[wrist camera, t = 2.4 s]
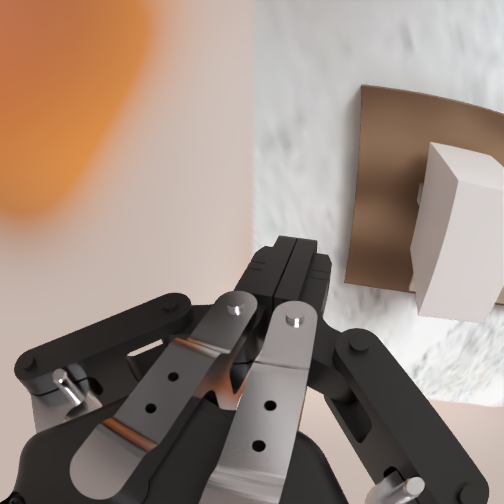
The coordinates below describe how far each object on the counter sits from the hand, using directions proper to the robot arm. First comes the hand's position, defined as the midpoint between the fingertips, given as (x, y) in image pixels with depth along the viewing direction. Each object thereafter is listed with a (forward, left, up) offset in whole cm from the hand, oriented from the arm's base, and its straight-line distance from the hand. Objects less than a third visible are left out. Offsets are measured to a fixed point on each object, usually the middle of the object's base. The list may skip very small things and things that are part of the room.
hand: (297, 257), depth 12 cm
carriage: (+2, +8, -8) cm, 11 cm away
